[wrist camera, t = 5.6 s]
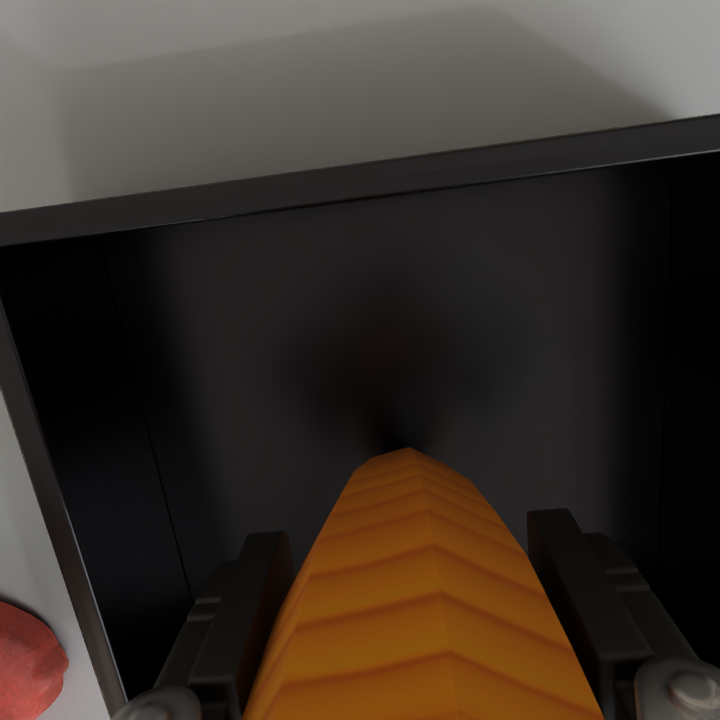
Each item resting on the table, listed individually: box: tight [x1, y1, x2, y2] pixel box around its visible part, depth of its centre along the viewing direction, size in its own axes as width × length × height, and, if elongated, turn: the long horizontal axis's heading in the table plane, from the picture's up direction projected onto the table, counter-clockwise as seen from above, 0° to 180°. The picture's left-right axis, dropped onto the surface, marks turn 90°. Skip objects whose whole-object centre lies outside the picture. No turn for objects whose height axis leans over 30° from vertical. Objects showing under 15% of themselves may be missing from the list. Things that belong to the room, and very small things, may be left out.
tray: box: [0, 113, 720, 719], centre depth 13 cm, size 15×15×4 cm
